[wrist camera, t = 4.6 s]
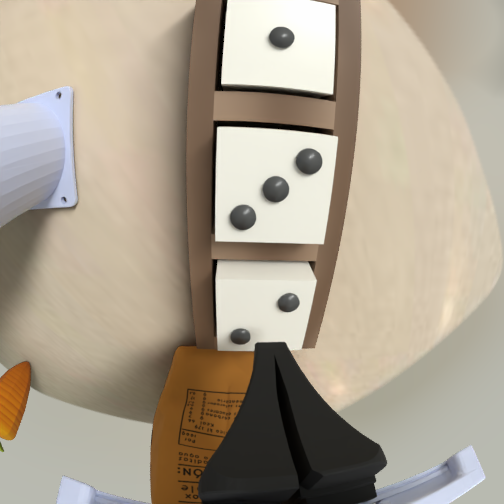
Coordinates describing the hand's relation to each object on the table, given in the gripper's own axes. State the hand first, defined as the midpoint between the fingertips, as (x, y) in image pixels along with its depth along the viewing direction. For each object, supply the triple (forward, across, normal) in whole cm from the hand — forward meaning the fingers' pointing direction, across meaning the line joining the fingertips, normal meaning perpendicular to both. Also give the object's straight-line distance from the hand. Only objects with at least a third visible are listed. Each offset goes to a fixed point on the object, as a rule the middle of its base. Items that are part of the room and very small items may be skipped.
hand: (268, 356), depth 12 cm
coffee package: (+7, +3, +12) cm, 14 cm away
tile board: (+7, 0, -7) cm, 10 cm away
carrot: (+7, +27, +14) cm, 31 cm away
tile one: (+7, 0, -14) cm, 16 cm away
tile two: (+6, 0, 0) cm, 6 cm away
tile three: (+6, 0, -7) cm, 9 cm away
